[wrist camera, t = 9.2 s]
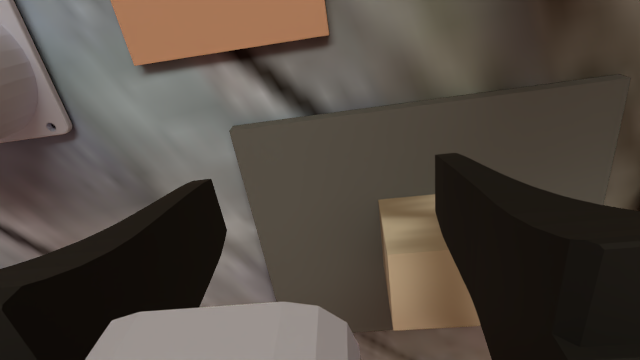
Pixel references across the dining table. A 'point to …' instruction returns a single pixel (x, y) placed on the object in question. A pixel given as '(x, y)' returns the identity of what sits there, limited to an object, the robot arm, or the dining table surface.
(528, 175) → the mat
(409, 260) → the birch block
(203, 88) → the dining table surface
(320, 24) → the tile
